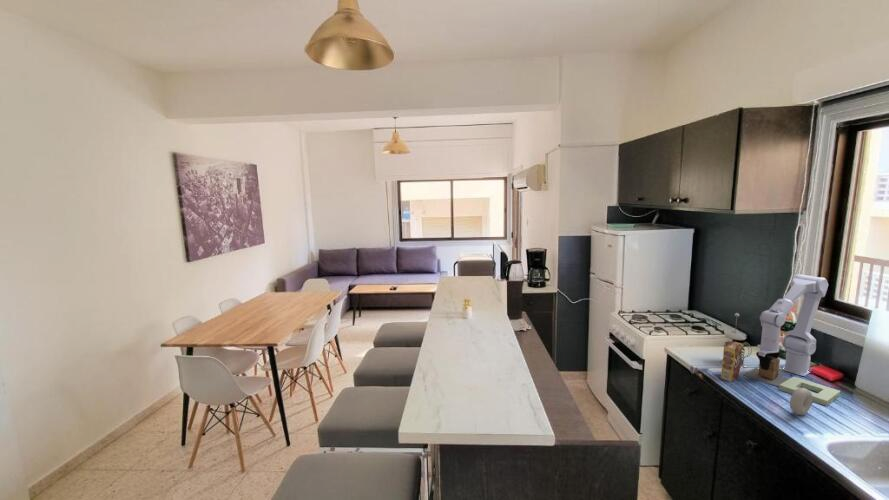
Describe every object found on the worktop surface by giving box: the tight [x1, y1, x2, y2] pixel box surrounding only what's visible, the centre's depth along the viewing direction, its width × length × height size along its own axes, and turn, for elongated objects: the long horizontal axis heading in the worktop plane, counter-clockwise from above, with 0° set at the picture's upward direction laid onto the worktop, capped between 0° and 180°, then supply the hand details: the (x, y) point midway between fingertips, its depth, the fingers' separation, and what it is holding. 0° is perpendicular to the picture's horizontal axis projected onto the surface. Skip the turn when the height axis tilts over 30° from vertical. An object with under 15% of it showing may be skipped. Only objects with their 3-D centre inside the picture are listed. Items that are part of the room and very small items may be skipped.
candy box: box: [720, 341, 744, 382], centre depth 157 cm, size 9×4×15 cm, turn 123°
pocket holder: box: [778, 375, 841, 406], centre depth 145 cm, size 14×14×2 cm
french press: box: [719, 312, 753, 369], centre depth 169 cm, size 10×12×25 cm
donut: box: [789, 387, 813, 416], centre depth 130 cm, size 10×4×10 cm, turn 114°
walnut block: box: [758, 358, 781, 380], centre depth 156 cm, size 5×5×8 cm
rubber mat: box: [743, 367, 790, 388], centre depth 157 cm, size 12×12×1 cm
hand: (767, 368), depth 157 cm, fingers closed on walnut block, 5 cm apart
